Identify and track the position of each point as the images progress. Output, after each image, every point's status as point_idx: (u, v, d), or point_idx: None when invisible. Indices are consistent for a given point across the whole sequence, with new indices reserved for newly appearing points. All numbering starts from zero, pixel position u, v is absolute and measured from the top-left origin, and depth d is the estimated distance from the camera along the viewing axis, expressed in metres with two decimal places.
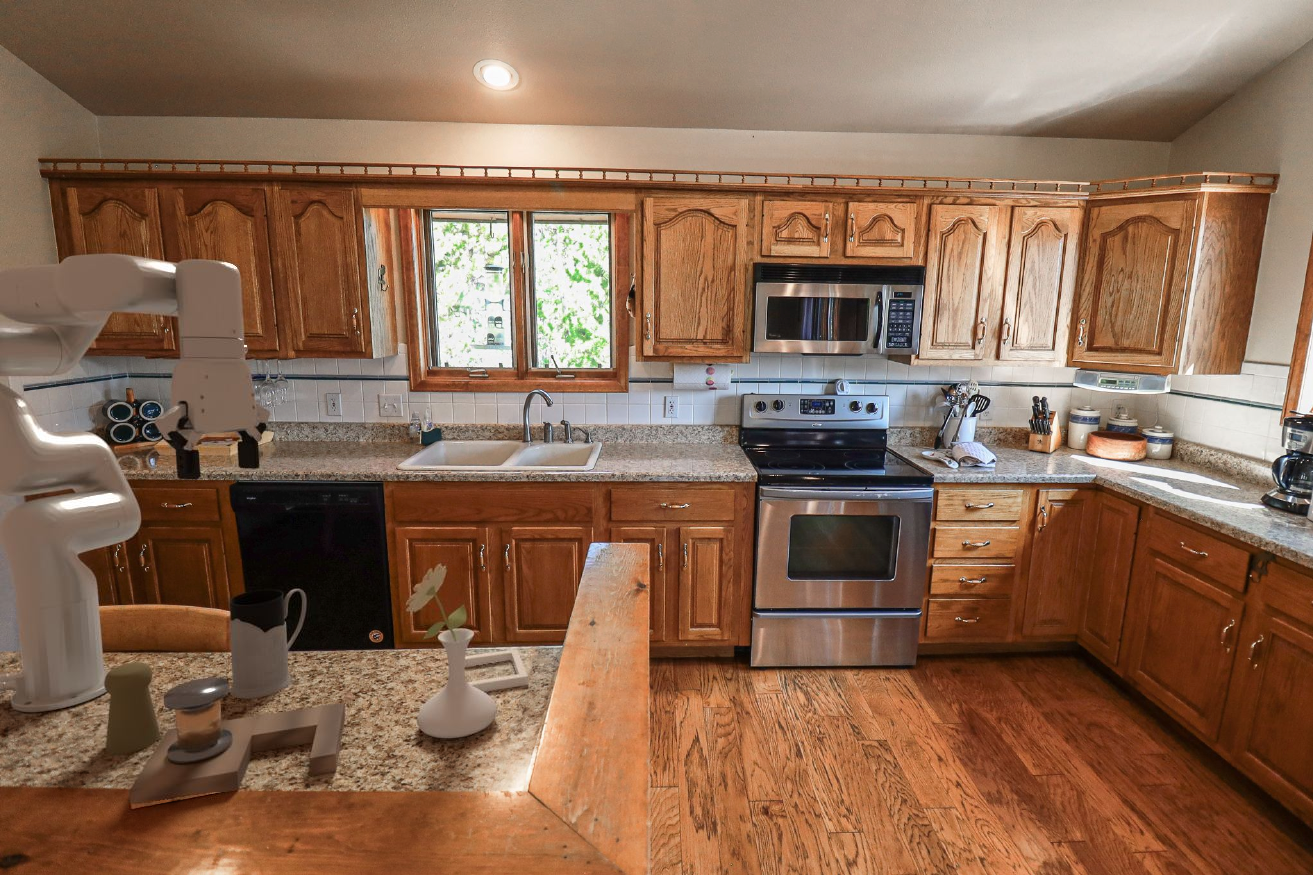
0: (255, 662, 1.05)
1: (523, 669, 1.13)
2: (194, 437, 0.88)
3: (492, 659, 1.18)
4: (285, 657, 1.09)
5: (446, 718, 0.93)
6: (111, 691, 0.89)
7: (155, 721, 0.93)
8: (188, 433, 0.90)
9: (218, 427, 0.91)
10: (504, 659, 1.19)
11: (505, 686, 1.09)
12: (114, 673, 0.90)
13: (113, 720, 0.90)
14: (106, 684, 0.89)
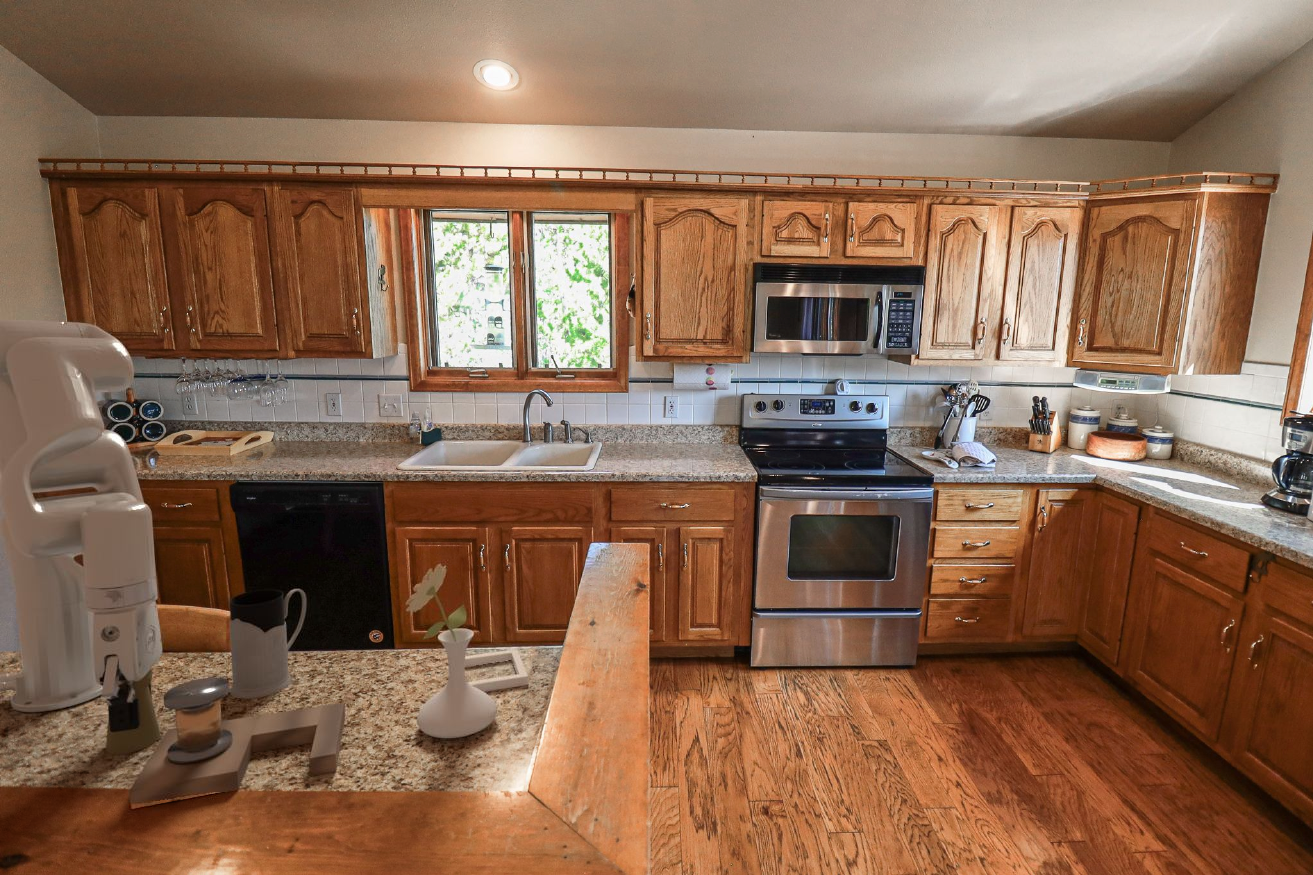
0: (255, 662, 1.05)
1: (523, 669, 1.13)
2: None
3: (492, 659, 1.18)
4: (285, 657, 1.09)
5: (446, 718, 0.93)
6: None
7: (155, 721, 0.93)
8: None
9: None
10: (504, 659, 1.19)
11: (505, 686, 1.09)
12: None
13: None
14: None
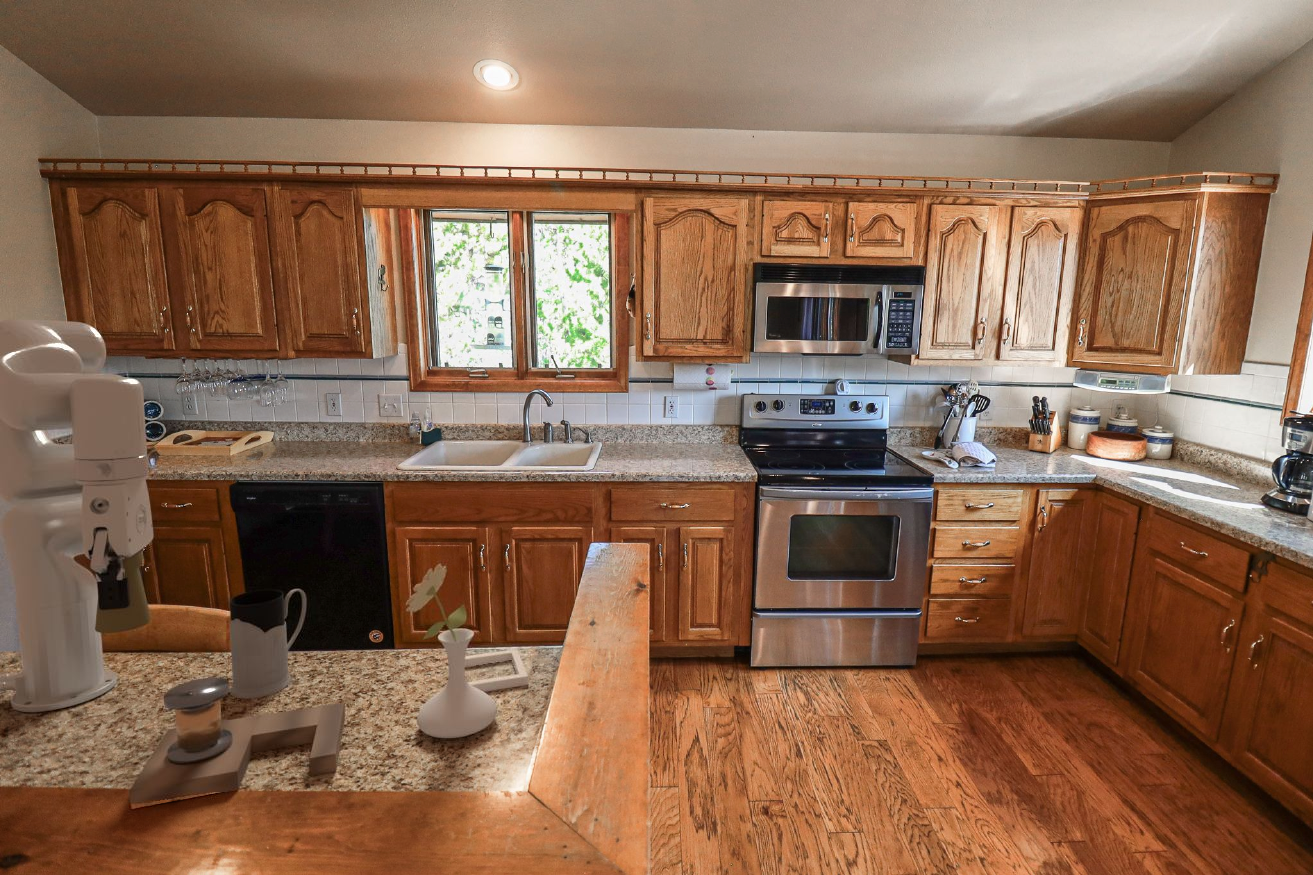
0: (255, 662, 1.05)
1: (523, 669, 1.13)
2: None
3: (492, 659, 1.18)
4: (285, 657, 1.09)
5: (446, 718, 0.93)
6: None
7: (146, 604, 0.92)
8: None
9: None
10: (504, 659, 1.19)
11: (505, 686, 1.09)
12: None
13: None
14: None
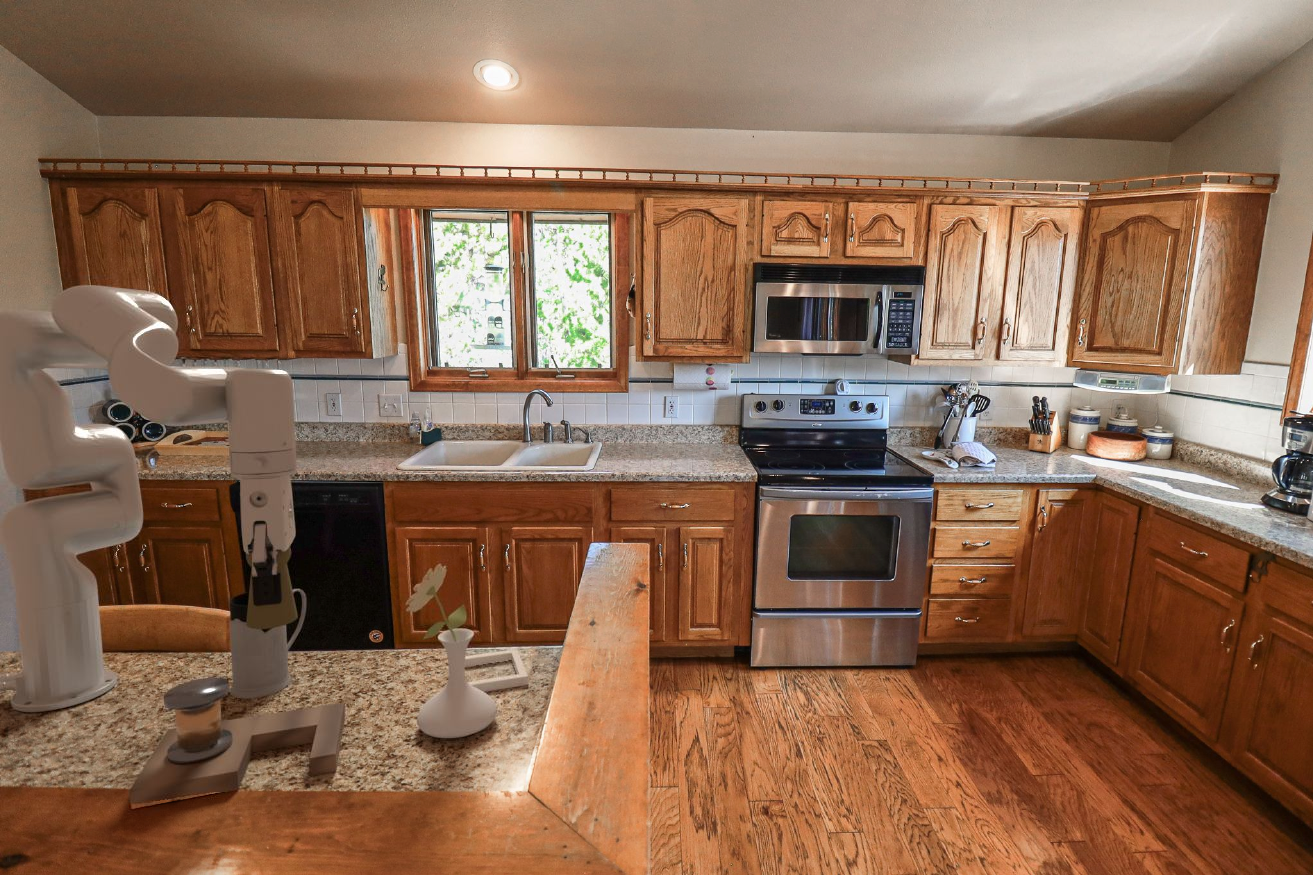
0: (255, 662, 1.05)
1: (523, 669, 1.13)
2: None
3: (492, 659, 1.18)
4: (285, 657, 1.09)
5: (446, 718, 0.93)
6: None
7: (293, 599, 0.90)
8: None
9: None
10: (504, 659, 1.19)
11: (505, 686, 1.09)
12: None
13: None
14: (249, 556, 0.86)
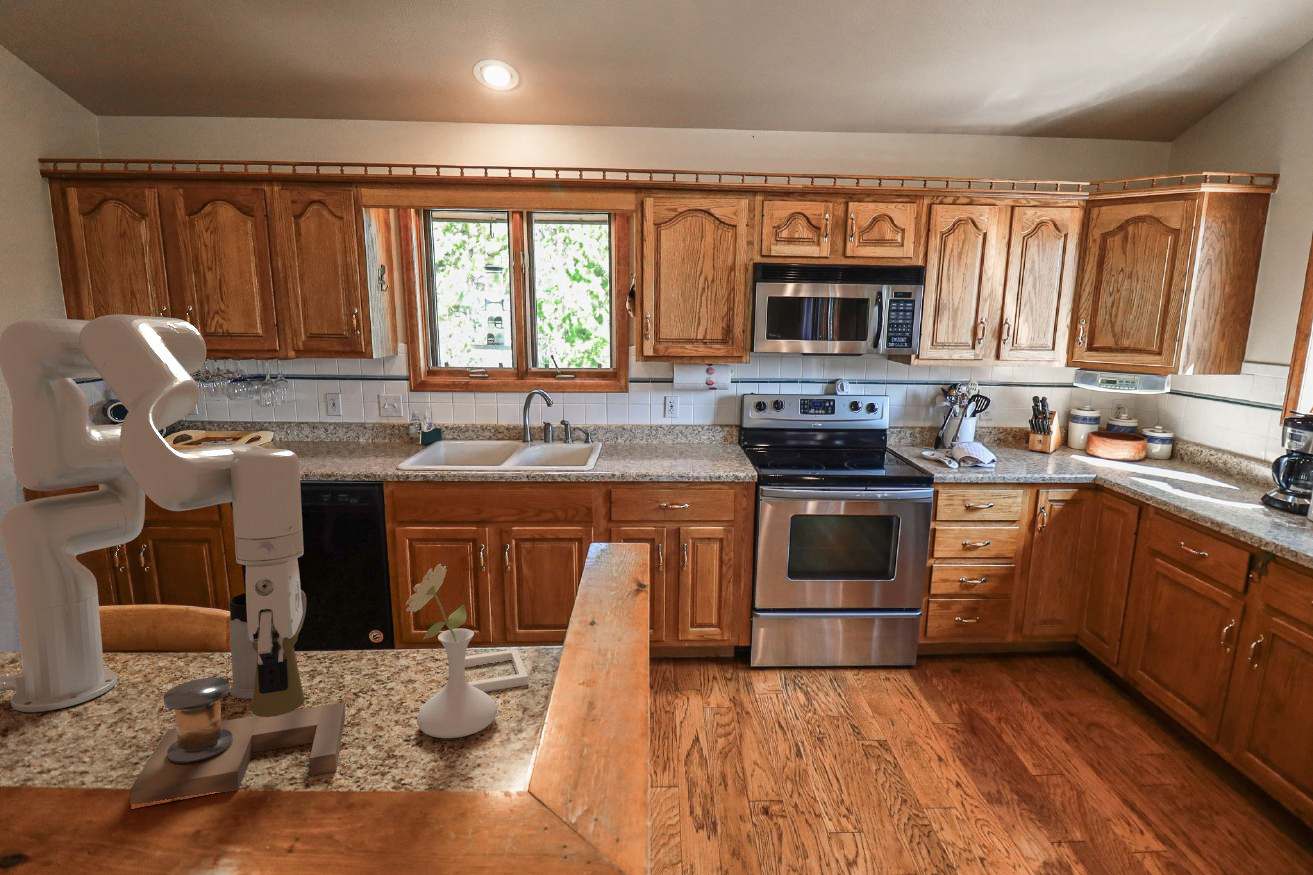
0: (255, 662, 1.05)
1: (523, 669, 1.13)
2: None
3: (492, 659, 1.18)
4: None
5: (446, 718, 0.93)
6: None
7: (300, 683, 0.88)
8: None
9: None
10: (504, 659, 1.19)
11: (505, 686, 1.09)
12: None
13: None
14: None
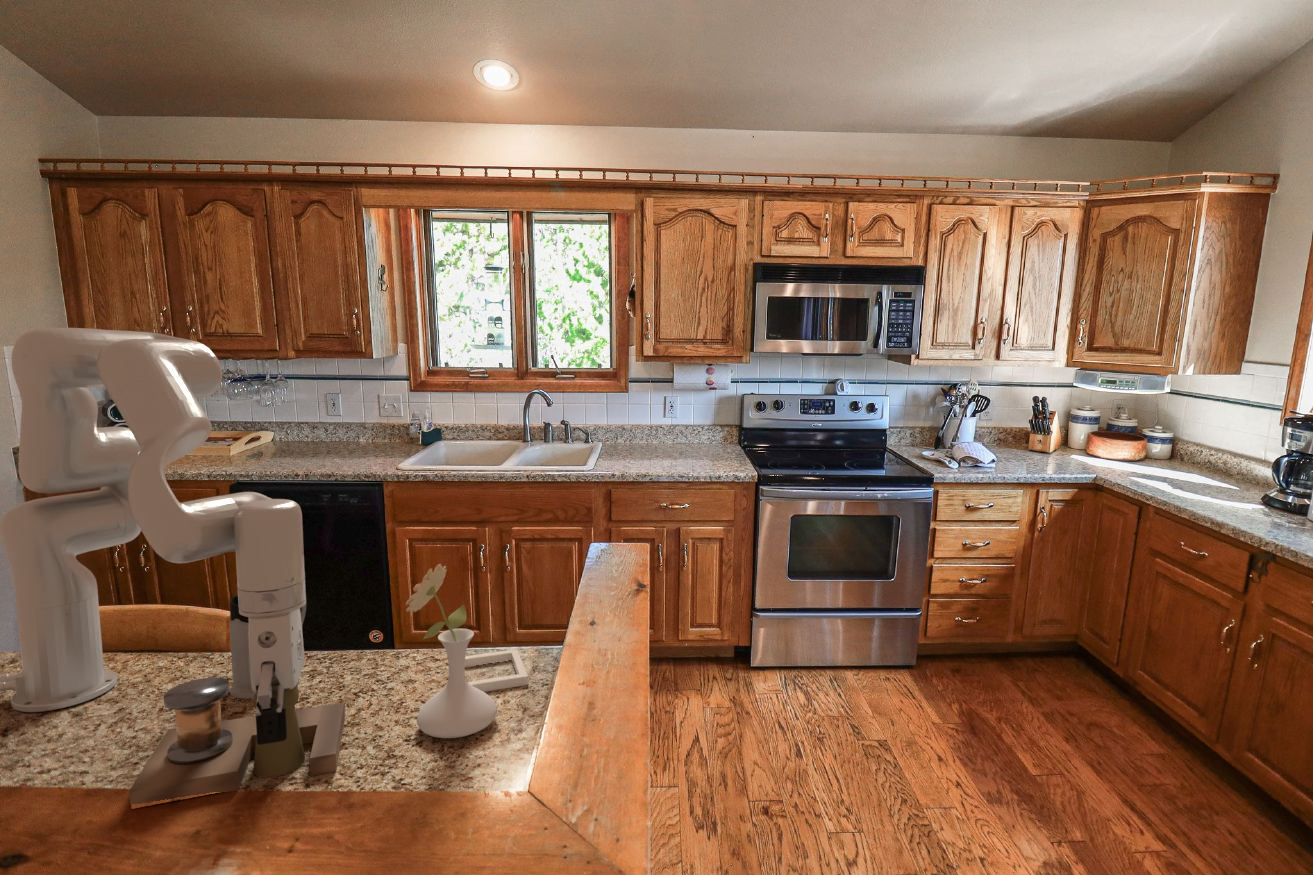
0: None
1: (523, 669, 1.13)
2: None
3: (492, 659, 1.18)
4: None
5: (446, 718, 0.93)
6: None
7: (301, 741, 0.89)
8: None
9: None
10: (504, 659, 1.19)
11: (505, 686, 1.09)
12: None
13: None
14: None
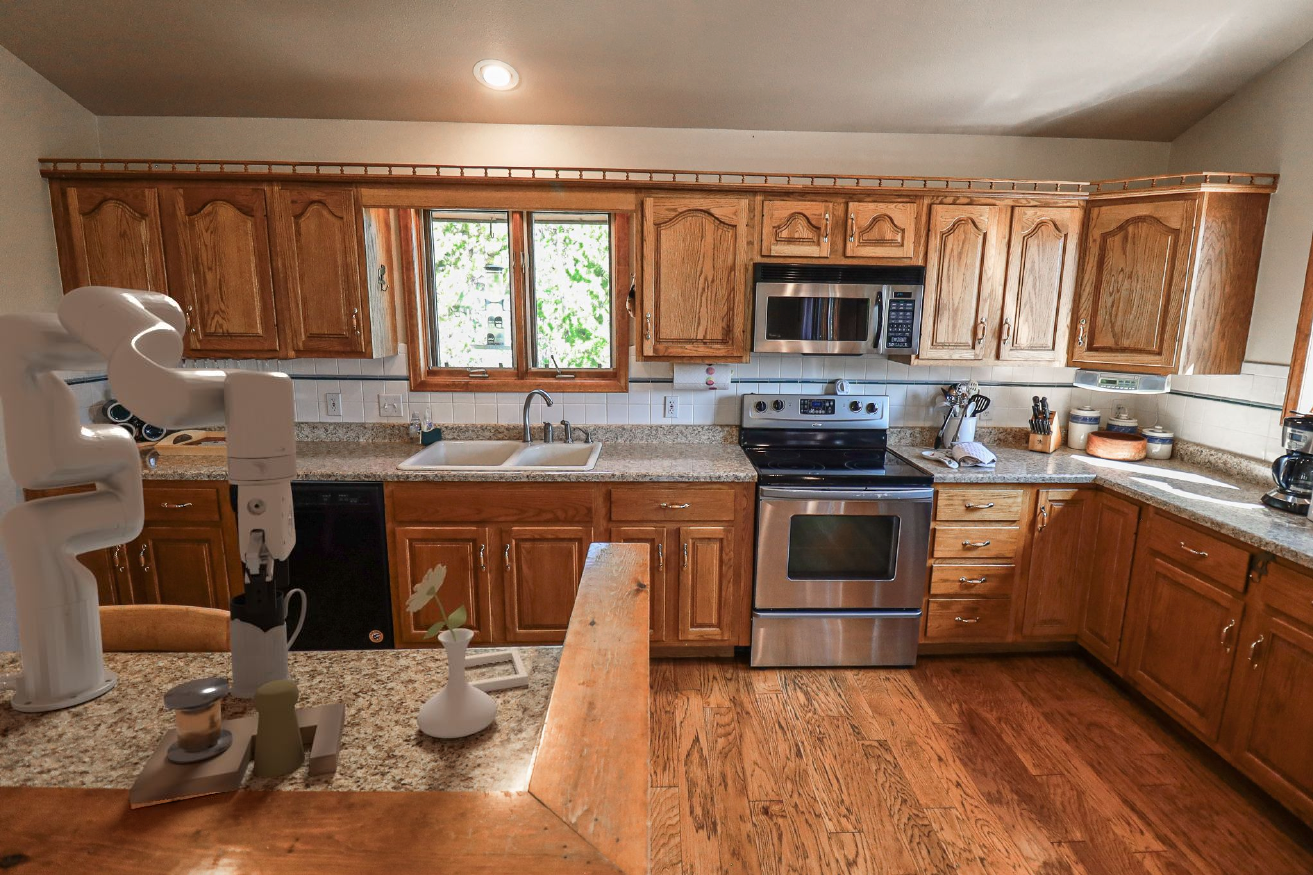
0: (255, 662, 1.05)
1: (523, 669, 1.13)
2: None
3: (492, 659, 1.18)
4: (285, 657, 1.09)
5: (446, 718, 0.93)
6: (262, 711, 0.84)
7: (301, 741, 0.89)
8: None
9: None
10: (504, 659, 1.19)
11: (505, 686, 1.09)
12: (264, 692, 0.85)
13: (264, 741, 0.85)
14: (257, 703, 0.85)
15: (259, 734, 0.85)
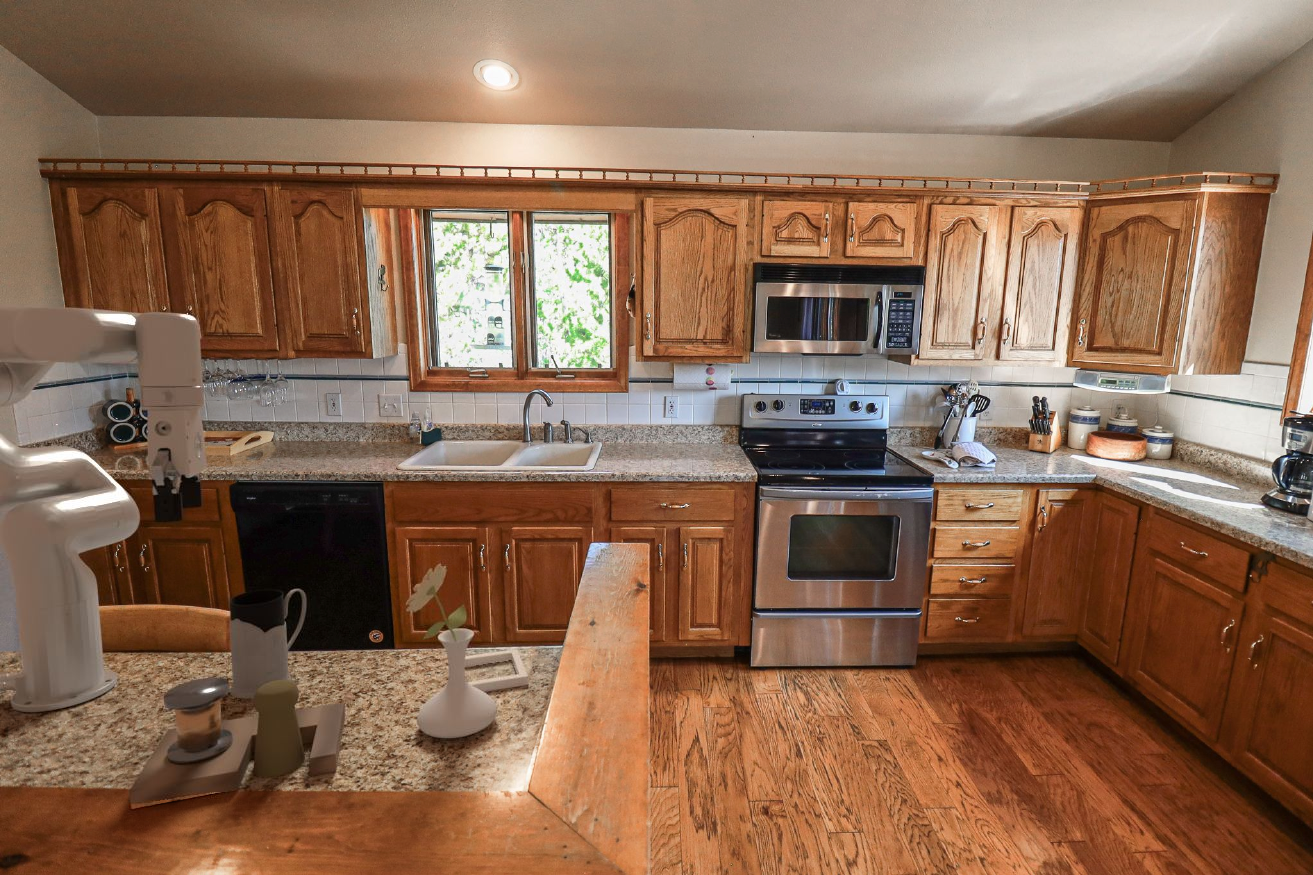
0: (255, 662, 1.05)
1: (523, 669, 1.13)
2: None
3: (492, 659, 1.18)
4: (285, 657, 1.09)
5: (446, 718, 0.93)
6: (262, 711, 0.84)
7: (301, 741, 0.89)
8: None
9: None
10: (504, 659, 1.19)
11: (505, 686, 1.09)
12: (264, 692, 0.85)
13: (264, 741, 0.85)
14: (257, 703, 0.85)
15: (259, 734, 0.85)
